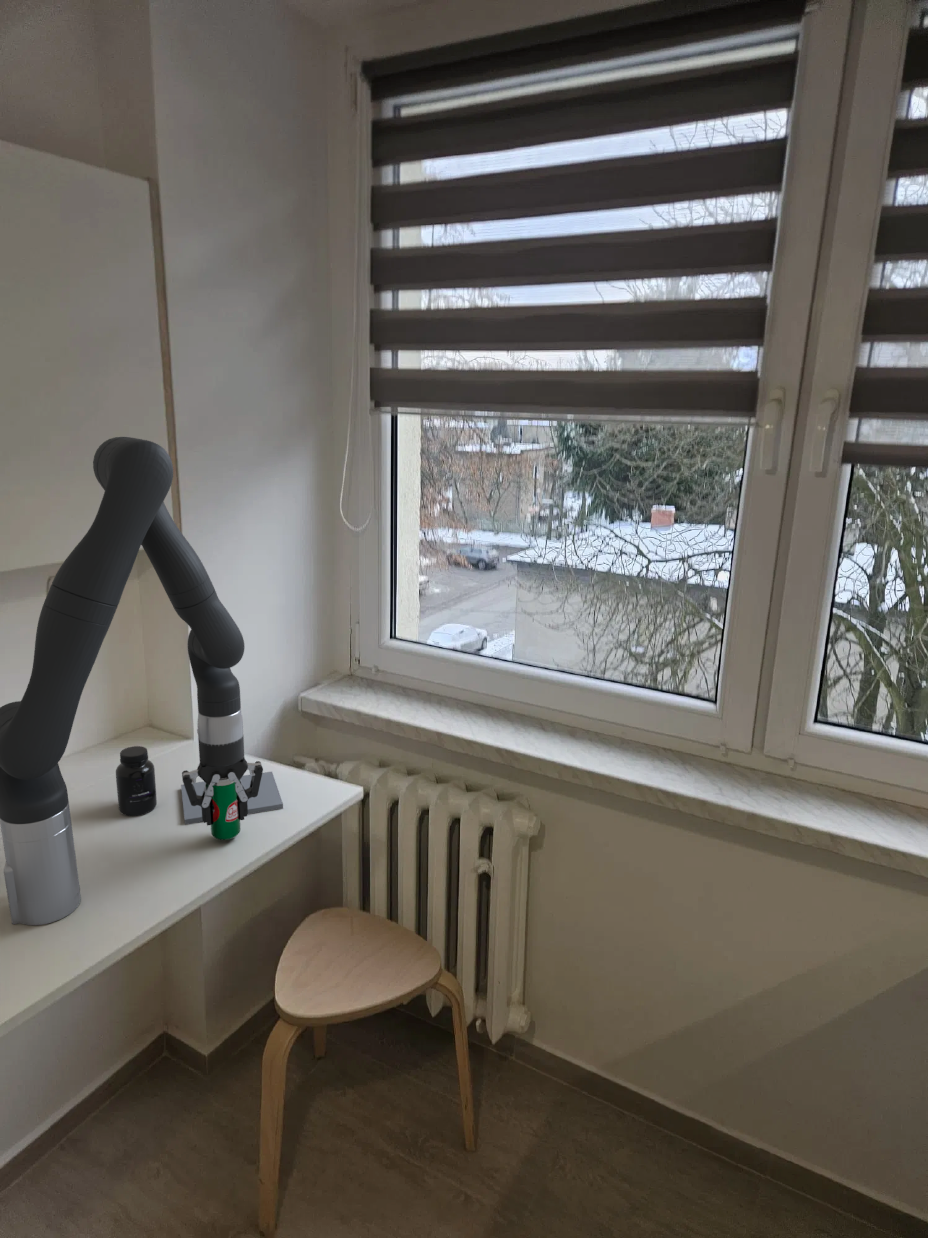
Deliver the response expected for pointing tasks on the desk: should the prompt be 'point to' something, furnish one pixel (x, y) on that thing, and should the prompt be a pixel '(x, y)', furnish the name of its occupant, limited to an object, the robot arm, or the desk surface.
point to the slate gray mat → (262, 802)
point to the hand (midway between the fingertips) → (225, 820)
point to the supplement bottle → (135, 782)
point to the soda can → (225, 810)
